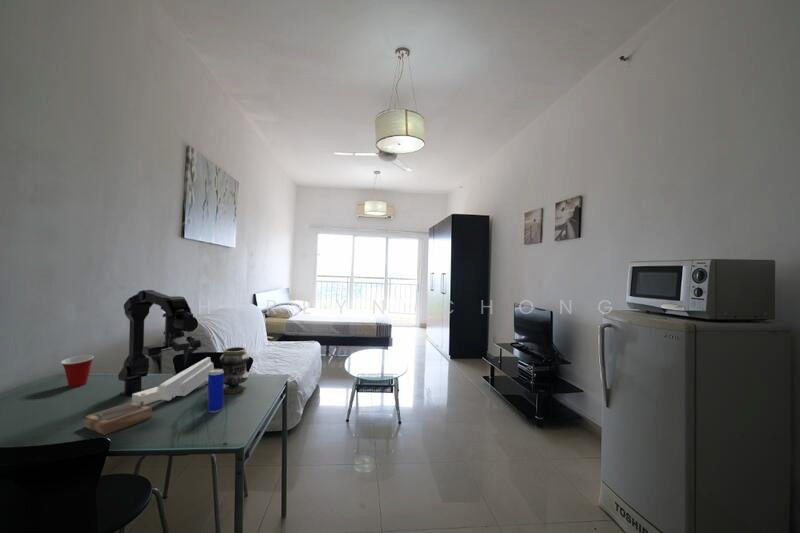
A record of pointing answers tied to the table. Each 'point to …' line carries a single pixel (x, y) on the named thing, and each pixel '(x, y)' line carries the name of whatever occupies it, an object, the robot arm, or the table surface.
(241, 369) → the apothecary jar
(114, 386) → the table surface
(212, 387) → the beverage can
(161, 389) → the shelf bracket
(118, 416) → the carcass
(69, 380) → the plastic cup
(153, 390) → the white block
